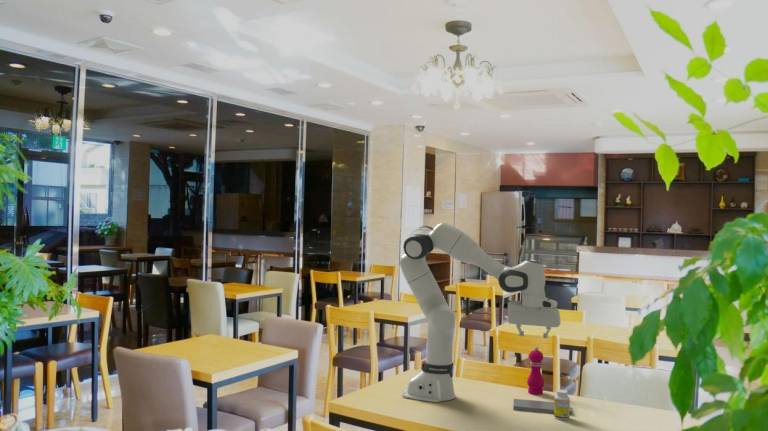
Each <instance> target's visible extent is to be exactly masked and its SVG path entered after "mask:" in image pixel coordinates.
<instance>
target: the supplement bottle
mask: <svg viewBox="0 0 768 431" xmlns="http://www.w3.org/2000/svg"><path fill="white" fill-rule="evenodd" d="M553 398H554V401H553V402H554V416H553V417H554V418H555V419H557V420H560V421H566V420H569V419H570V415H569V407H570V406H571V404H570V402H571V400H570V396H569V395H568V390H565V389H556V394H555V395H554V397H553Z"/></svg>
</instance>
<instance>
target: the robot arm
mask: <svg viewBox="0 0 768 431" xmlns="http://www.w3.org/2000/svg"><path fill="white" fill-rule="evenodd" d="M402 248H403V251H404V254H402V255H401V257H400V259H399V265H400V269H401V272H402V274H403V277H404V279H405V281H406V283H407V284H408V286H409V288H410V290H411V292H412V294H413V296H414V298H415V300H416V302H417V303H418V306H419V307H420V309H421V311H422V313H423V316H424V318H425V319H426V321H427V335H426V336H427V338H426V347H425V348H426V349H425V350H426V352H425V359H423V360H422V361H421V365H420V368H421V369H420V370H419V371H418V372H416V373H415V374H414V375H412V376H411V377H410V379H409V380H408V383H407V387H405V388H404V389H403V390H402V392H401V397H403V398H406V399H411V400H416V401H417V400H419V401H424V402H430V403H440V402H446V401H450V400H453V399H455V398H456V393H455V388H454V380H453V376H454V362H453V351H454V350H453V347H454V345H453V344H454V337H455V329H456V315H455V312H454V311H453V310H452V309H451V307H450V306H449V305H448V303H447V300H446V298H445V297H444V295H443V293H442V290H441V288H440V286H439V283H438V282H437V280H436V279H435V277H434V274H433V273H432V271H431V269H430V266H429V265H428V263H427V260H426V258H427V255H429V254H430V253H431V252H433V251H434V250H435V249H437V250H441V251H442V252H444V253H445V254H446V255H448V256H450V257H451V258H453V259H455V260H456V261H459V262H461V263H464V264H470V265H473V266H475V267H479V268H480V269H482V270H483V271H485V272H487V273H488V274H490V275H491V276H493V277H494V278H495V279H496V280H497V281H498V285H499V288H501V290H503V291H504V292H506V293H508V294H509V293H510V294H513V293H516V292H521V294H522V295H521V299H522V300H511V301H509V302H508V303H507V310H508V311H507V322H508V324H509V325H510V324H511V325H516V326H515V328H516V329H517V331H518V333H519V334H518V336H520V337H524V336H525V331H524V330H522V326H537V327H546V328H545V329H546V332H544V333H543V334H542V335H543V336H542V337H543V339H548V338H549V333H550V331H551V330H552V328H558V327H560V325H561V313H560V310H559V308H557V307H558V301H556V300H554V299H551V298H548V297H546V291H545V286H546V270H545V266H544V265H543V263H541V262H539V261H536V260H531V259H530V260H529V259H525V260H524V261H522V262H520V263H519V264H517V265H514V266H510V265H506V264H503V263H501V262H500V261H499V260H497V259H496V258H494V257H493V256H491V255H489V254H488V253H487V252H486V251H484V250H483V248H482V247H481V246H480V245H479V244H478V243H477V241H475V240H474V239H473V237H471V236H470V235H469V234H467V233H466V232H464V231H463V230H461V229H459V228H457V227H455V226H453V225H451V224H449V223H447V222H443V221H442V222H439V223H437V224H436V225H435V226H434V227H431V226H428V225H424V226H420V227H417V229H415V230H414V231H412V232H411V233H410V234H409V235H408V236H407V237H406V238H405V240H404V241H403V247H402Z"/></svg>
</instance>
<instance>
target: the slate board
mask: <svg viewBox="0 0 768 431" xmlns="http://www.w3.org/2000/svg"><path fill="white" fill-rule="evenodd" d="M512 407H513V408H512V409H513V411H523V412H534V413H541V414H542V413H543V414H545V413H546V414H554V401H544V400H531V399H522V398H521V399H520V398H513V406H512ZM572 411H573V410H572V406H571V405H570V407H569V416H573V414H572V413H573V412H572Z"/></svg>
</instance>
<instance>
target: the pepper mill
mask: <svg viewBox="0 0 768 431" xmlns="http://www.w3.org/2000/svg"><path fill="white" fill-rule="evenodd" d="M528 358H529V359H530V363H529V365H530V367H531V368H530V369H531V370H530V373H529V376H528V377H527V382H526V383H527V384H526V385H527V386H528V388H527V393H528V394H529V395H534V396H541V395H544V394H543V393H544V390H543V389H544V388H543V387H544V386H545V381H544V378H543V375H542V373H541V371H542V370H541V369H542V368H541V367H542V366H543V362H542V361H543V360H544V354H543V353H542V352H541V351H540V350H539V347H538V346H535V347H534V350H531V351H530V352H529V355H528Z"/></svg>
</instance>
